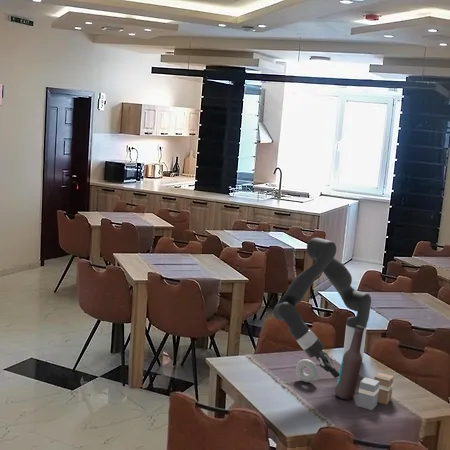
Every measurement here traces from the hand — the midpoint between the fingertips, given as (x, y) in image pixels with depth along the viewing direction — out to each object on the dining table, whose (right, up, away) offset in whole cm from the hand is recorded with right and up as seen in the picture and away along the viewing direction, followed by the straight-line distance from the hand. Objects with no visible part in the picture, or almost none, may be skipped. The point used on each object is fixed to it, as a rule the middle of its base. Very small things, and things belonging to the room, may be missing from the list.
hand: (337, 376), depth 274 cm
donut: (-11, -6, +14) cm, 18 cm away
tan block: (+18, -10, 0) cm, 20 cm away
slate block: (+11, -10, -6) cm, 16 cm away
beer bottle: (+3, -8, +1) cm, 9 cm away
